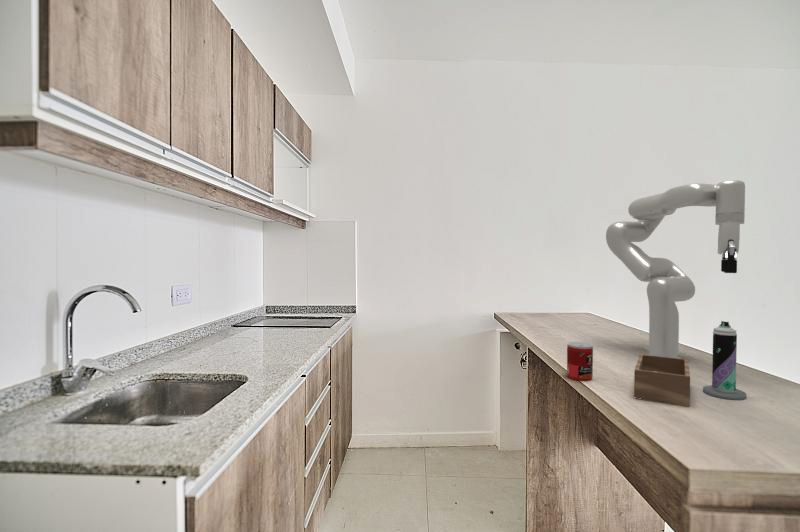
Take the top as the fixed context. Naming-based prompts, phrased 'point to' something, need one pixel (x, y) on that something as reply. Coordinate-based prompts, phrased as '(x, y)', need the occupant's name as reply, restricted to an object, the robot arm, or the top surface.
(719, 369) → the spray can
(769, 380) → the top surface
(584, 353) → the canned food
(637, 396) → the wooden box
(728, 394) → the mat
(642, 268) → the robot arm
